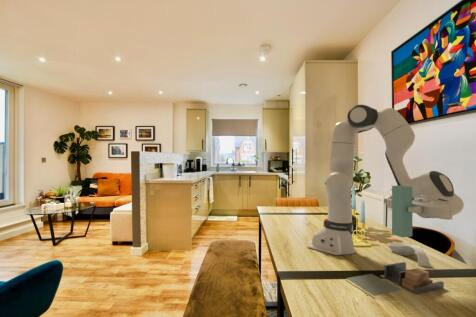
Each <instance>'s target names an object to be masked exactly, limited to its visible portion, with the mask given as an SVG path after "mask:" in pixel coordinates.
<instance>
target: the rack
mask: <svg viewBox="0 0 476 317" xmlns="http://www.w3.org/2000/svg"><path fill="white" fill-rule="evenodd" d="M383 268H384V269H383V271H384V272H383V274H381V275H379V277H380V278H382V279H385V280H386V281H389V282H391V284H392V283H393V285H394V284H395V286H397V287H398V286H399V287H400V288H402V289H404V290H406V291H408V292H410V293H412V294H414V295H420V294H424V293H430V292H432V291H433V292H434V291H438V290H443V289H444V288H445V287H444V286H445V283H444V281H442V280H441V281H436V282H433V283H430V284H425V285H420V286H416V287H413V291H411V290H409V289H407V288H405V287H404V286H402V278H405V271H409V270H412V268H411V269H407V262H405V261H402V262H396V263H390V264H384V265H383ZM418 268H419V269H421V268H420V267H418Z"/></svg>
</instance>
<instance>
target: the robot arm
mask: <svg viewBox="0 0 476 317" xmlns="http://www.w3.org/2000/svg"><path fill="white" fill-rule="evenodd" d="M346 119H347V120H343V121H339V122H337V123H335V124H334V126H333V127H332V128H333V129H332V132H331V137H330V138H331V139H330V151H329V167H330V170H329V172H330V173H329V174H328V176H326V180H325V189H326V190H325V191H326V201H327V217H325V218H324V220H323V226H322V227H321V228H319V229H317V230H315V231H314V233H313V234H312V237H311V239H310V240H309V241H308V242H307V245H306V246H307V248H308V249H312V250H315V251H319V252H324V253H327V254H331V255H334V256H340V255H341V256H342V255H351V254H354V253H356V248H355V244H354V239H353V238H354V237H353V234H354V225H353V224H354V223H353V220H352V219H353V218H352V217H353V216H352V215H353V214H352V212H353V204H352V186H353V182H354V159H355V158H354V157H355V156H354V155H355V145H356V137H357V134H360V133H364V132H367V131H370V130H372V129H376V130H377V131H378V133H379V134H380V136H381V137H382V139H383V141H384V144H385V149H386V150H385V153H384V154H385V155H384V156H385V159H386V161H387V164H388V166H389V169H390V170H391V172H392V175H393V177H394V180H395V182H396V186H411V187H412V207H410V206H408V207H406V211H407V212H412V214H416V215H418V216H419V217H420V218H423V219H440V220H448V221H450V220H451V221H452V220H453V216H455V215H458V214H460V213H461V212H462V211H463V209H464V207H465V204H464V201H463V199H462V198H461V197H460V196H458V194H456V193H455V189H454V185H453V183H452V181H451V179H450V178H449V177H448V176H447V175H445V174H443V173H442V172H440V171H436V170H431V171H429V172H426V173H422V174H421V175H419V176H416V177H414V178H410V176H409V173H408V171H407V169H406V167H405V164H404V161H403V160H404V156H405V154H406V153H407V152H408V151H409V149H410V148H411V147H412V146H413V144H414V142H415V138H416V135H415V131H414V130H413V128H412V127H411V126H410V124H409V123H408V121H407V120H406V119H405V117H403V116H402V114H400V112H398V110H396V109H395V108H393V107H387V108H384V109H382V110H380V111H378V110H377V109H376V108H373V107H371V106H368V105H366V104H357V105H354V106H353V107H351V108H350V109H349V110H348V112H347V118H346ZM386 207H387V208H389V209H392V198H387V199H386Z"/></svg>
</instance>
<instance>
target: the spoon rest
mask: <svg viewBox="0 0 476 317" xmlns="http://www.w3.org/2000/svg"><path fill="white" fill-rule="evenodd" d="M387 247H388V248H389V249H390V250H391V251H392V252H394V253H395V254H397V255H399V256H404V255H405V256H406V257H407V256H411V255H413V254H415V253H416V256H417V266H418V267H428V268H431V262H430V259H429V257H428V256H427V253H426V252H425V251H424V249H422V247H421V246H419V245H413V244H408V243H402V242H387Z"/></svg>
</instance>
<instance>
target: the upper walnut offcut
mask: <svg viewBox="0 0 476 317" xmlns="http://www.w3.org/2000/svg"><path fill="white" fill-rule="evenodd" d="M419 268H420V267H417V268H413V269H412V268H411V269H412V270H411V269H408V270H409V271H405V279H407V280H409V281H412V282H414V283H416V284H417V283H420V282H423V281H426V280H429V279H430V272H429V271H428V270H424V269H421V268H420V269H419Z"/></svg>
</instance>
